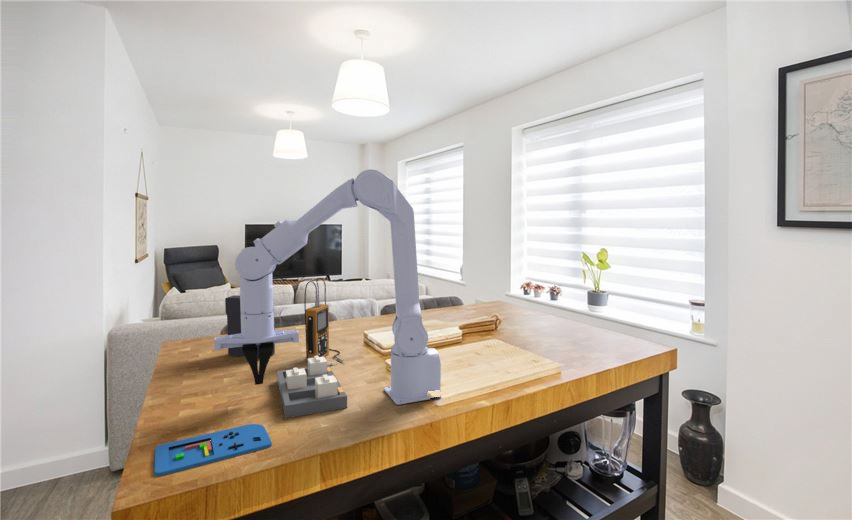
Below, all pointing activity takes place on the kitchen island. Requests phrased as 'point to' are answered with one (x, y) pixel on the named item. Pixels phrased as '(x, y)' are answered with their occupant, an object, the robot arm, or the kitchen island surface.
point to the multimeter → (317, 328)
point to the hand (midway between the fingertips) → (258, 382)
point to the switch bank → (308, 396)
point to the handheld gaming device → (209, 448)
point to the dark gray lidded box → (235, 323)
